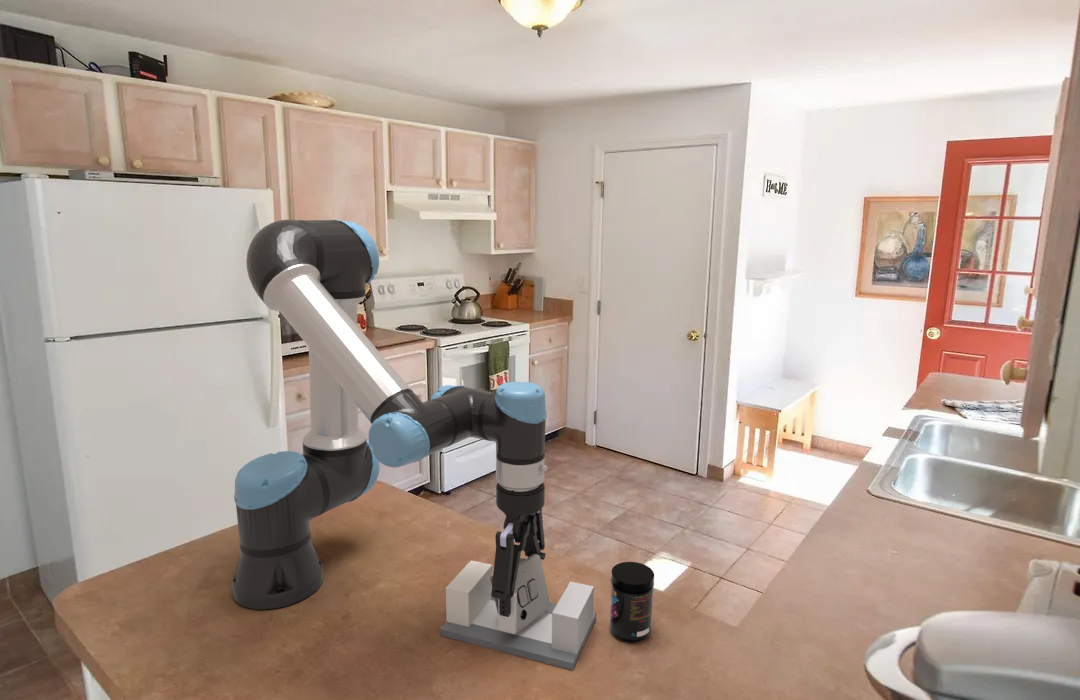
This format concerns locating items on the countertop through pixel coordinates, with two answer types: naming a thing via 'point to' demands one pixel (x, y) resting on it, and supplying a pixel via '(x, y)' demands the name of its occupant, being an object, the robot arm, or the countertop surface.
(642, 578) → the supplement container
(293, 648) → the countertop surface
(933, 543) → the countertop surface
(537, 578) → the electrical switch
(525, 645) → the rail plate
